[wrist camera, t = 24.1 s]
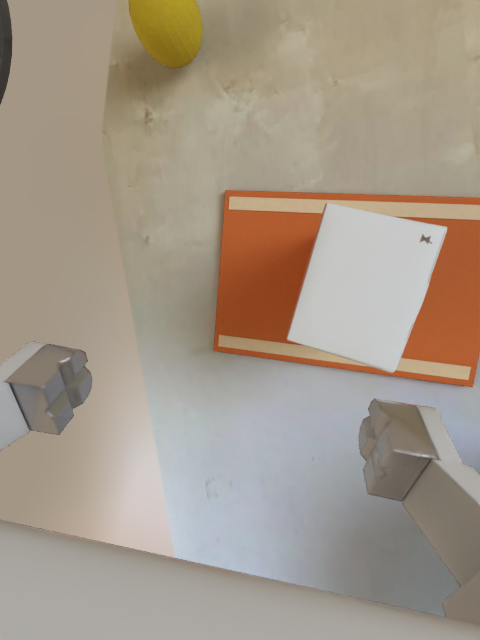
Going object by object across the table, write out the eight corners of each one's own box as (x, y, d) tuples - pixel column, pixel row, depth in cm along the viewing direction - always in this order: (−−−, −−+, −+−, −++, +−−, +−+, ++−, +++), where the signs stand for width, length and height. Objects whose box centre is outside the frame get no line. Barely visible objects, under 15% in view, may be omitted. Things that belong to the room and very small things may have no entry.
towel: (215, 349, 34) (213, 351, 33) (226, 191, 32) (225, 189, 31) (469, 385, 29) (473, 387, 28) (506, 200, 27) (511, 198, 26)
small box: (321, 232, 30) (325, 197, 17) (392, 248, 28) (453, 224, 16) (296, 316, 31) (284, 341, 18) (362, 335, 30) (398, 376, 17)
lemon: (223, 61, 30) (192, -14, 22) (175, 97, 32) (130, 39, 24) (196, 8, 30) (156, -85, 22) (150, 47, 32) (96, -28, 24)
